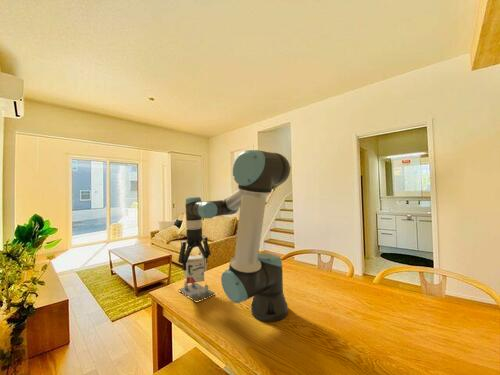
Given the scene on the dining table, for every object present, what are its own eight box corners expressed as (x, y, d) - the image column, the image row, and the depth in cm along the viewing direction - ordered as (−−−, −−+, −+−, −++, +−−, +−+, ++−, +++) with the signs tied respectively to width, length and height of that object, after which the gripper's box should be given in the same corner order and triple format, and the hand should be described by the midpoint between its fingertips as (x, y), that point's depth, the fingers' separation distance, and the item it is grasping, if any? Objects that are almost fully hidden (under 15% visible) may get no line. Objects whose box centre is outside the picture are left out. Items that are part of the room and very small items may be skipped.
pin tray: (214, 294, 104) (214, 284, 104) (196, 303, 97) (196, 292, 97) (196, 284, 116) (195, 275, 116) (178, 291, 109) (178, 281, 109)
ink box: (186, 284, 103) (185, 259, 103) (186, 279, 108) (185, 256, 108) (204, 281, 105) (204, 257, 105) (204, 277, 110) (203, 254, 110)
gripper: (208, 224, 117) (209, 265, 117) (169, 230, 101) (170, 278, 101) (216, 225, 112) (218, 268, 112) (176, 232, 96) (178, 283, 96)
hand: (195, 273), depth 106 cm, fingers closed on ink box, 9 cm apart
